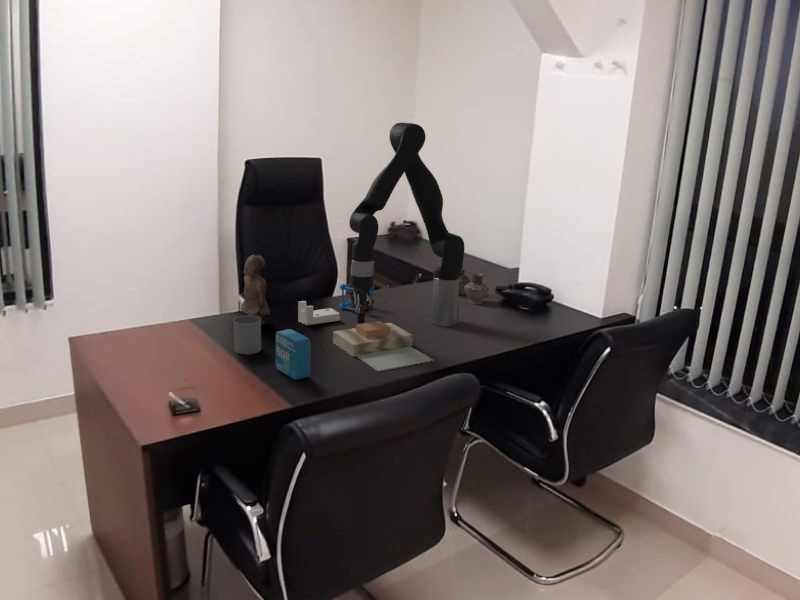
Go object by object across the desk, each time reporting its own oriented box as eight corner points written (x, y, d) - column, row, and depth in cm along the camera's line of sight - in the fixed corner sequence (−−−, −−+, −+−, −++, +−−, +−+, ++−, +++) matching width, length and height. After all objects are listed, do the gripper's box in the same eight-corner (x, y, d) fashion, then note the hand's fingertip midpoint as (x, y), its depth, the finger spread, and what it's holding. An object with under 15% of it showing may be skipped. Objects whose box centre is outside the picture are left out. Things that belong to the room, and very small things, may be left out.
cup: (237, 355, 211) (237, 324, 208) (231, 346, 218) (230, 317, 215) (264, 352, 215) (264, 321, 212) (257, 343, 222) (256, 314, 219)
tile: (379, 328, 230) (379, 321, 229) (390, 334, 224) (390, 327, 223) (355, 331, 225) (355, 324, 224) (366, 338, 219) (366, 331, 219)
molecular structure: (338, 309, 262) (338, 284, 259) (354, 303, 270) (355, 279, 267) (358, 314, 256) (359, 289, 253) (374, 308, 264) (375, 283, 261)
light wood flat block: (390, 333, 237) (390, 322, 236) (412, 346, 226) (412, 335, 225) (333, 342, 226) (333, 331, 225) (353, 356, 214) (353, 344, 213)
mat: (410, 347, 225) (410, 346, 225) (433, 361, 214) (433, 360, 214) (356, 356, 215) (356, 355, 214) (378, 371, 204) (378, 370, 204)
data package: (275, 368, 203) (275, 330, 199) (288, 365, 206) (288, 327, 202) (297, 381, 194) (297, 342, 191) (310, 378, 197) (311, 339, 194)
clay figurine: (234, 322, 242) (232, 252, 234) (259, 317, 248) (258, 249, 241) (253, 332, 232) (251, 260, 225) (278, 326, 239) (277, 256, 232)
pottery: (471, 307, 272) (473, 278, 269) (437, 291, 293) (439, 264, 289) (494, 304, 277) (496, 275, 274) (459, 288, 298) (461, 262, 295)
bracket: (306, 327, 240) (306, 307, 238) (298, 321, 246) (298, 301, 244) (339, 323, 247) (340, 302, 245) (330, 317, 253) (331, 297, 250)
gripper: (382, 276, 223) (380, 327, 228) (362, 267, 234) (361, 316, 238) (361, 278, 219) (360, 330, 224) (342, 269, 230) (341, 318, 235)
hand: (360, 322), depth 231 cm, fingers closed
